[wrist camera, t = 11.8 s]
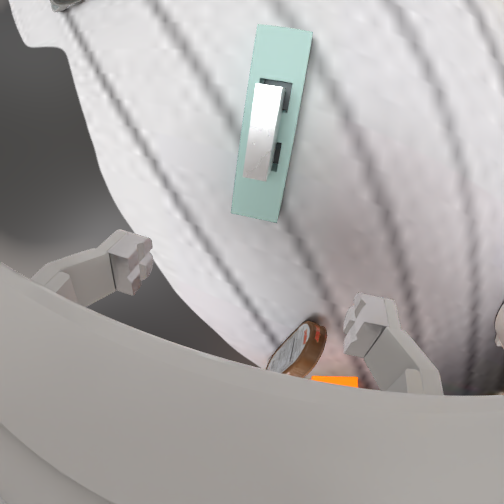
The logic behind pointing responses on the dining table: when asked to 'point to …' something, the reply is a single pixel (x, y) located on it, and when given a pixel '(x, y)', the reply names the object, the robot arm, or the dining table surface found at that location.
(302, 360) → the tin
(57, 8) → the ceramic mug
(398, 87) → the dining table surface
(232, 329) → the dining table surface
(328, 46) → the dining table surface
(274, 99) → the white block
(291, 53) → the rail
